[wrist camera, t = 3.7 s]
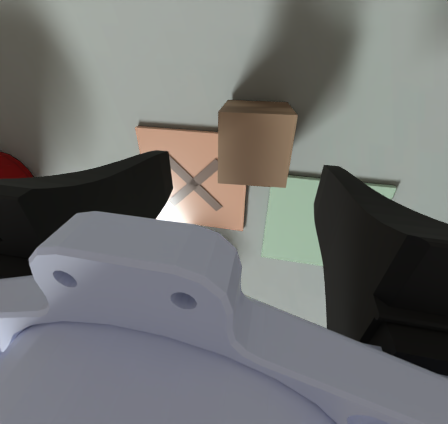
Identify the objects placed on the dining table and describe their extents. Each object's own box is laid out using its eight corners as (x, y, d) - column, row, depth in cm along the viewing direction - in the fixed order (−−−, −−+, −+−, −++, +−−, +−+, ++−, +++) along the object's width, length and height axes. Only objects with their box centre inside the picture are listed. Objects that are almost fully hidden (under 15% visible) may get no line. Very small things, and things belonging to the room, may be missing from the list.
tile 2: (394, 185, 18) (396, 188, 18) (356, 268, 24) (357, 271, 23) (272, 173, 20) (272, 175, 20) (261, 253, 25) (261, 256, 25)
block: (287, 102, 17) (297, 115, 12) (279, 159, 19) (285, 187, 14) (228, 99, 17) (218, 111, 13) (226, 156, 19) (217, 183, 15)
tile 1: (249, 134, 18) (249, 136, 18) (243, 228, 24) (242, 231, 23) (137, 125, 20) (134, 127, 19) (154, 216, 25) (152, 219, 25)
